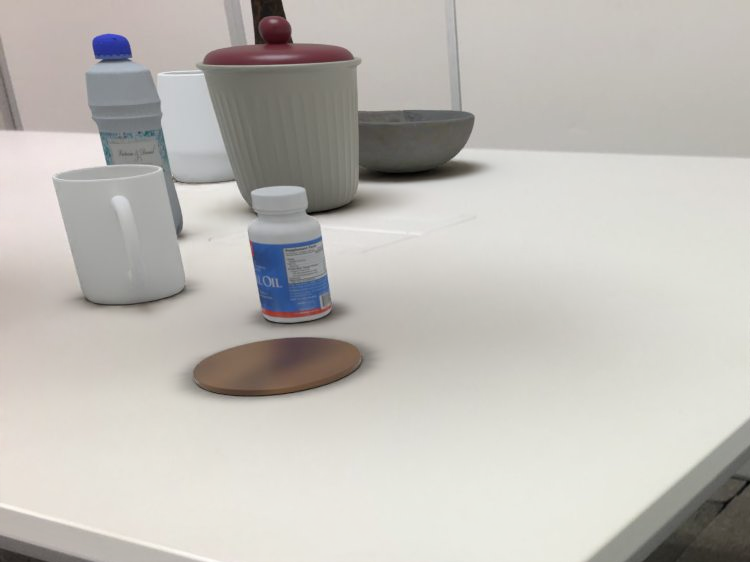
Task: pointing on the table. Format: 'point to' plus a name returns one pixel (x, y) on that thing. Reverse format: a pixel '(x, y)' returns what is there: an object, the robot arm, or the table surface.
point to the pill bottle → (288, 256)
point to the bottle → (128, 112)
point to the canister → (288, 115)
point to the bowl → (411, 138)
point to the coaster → (277, 366)
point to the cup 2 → (191, 129)
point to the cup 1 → (121, 232)
